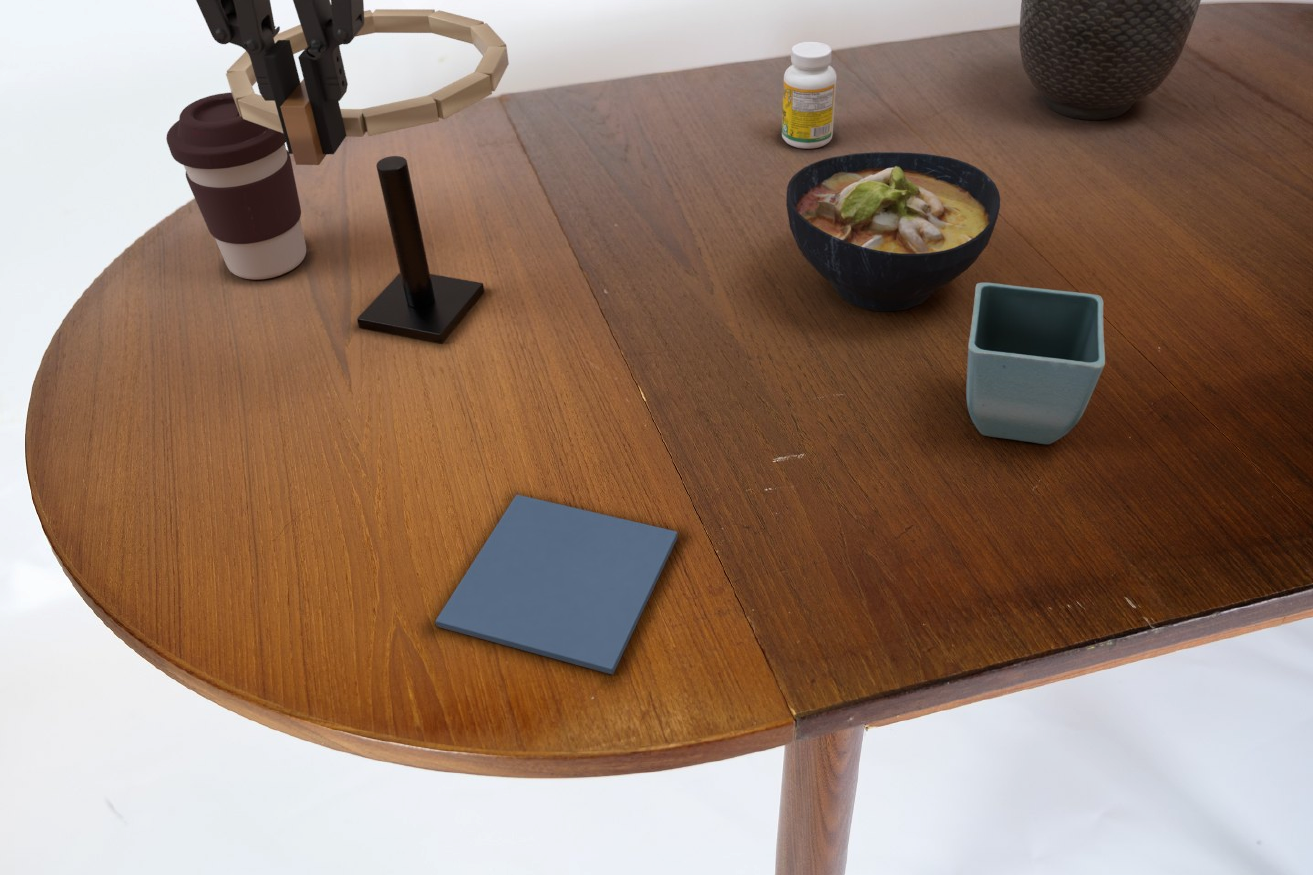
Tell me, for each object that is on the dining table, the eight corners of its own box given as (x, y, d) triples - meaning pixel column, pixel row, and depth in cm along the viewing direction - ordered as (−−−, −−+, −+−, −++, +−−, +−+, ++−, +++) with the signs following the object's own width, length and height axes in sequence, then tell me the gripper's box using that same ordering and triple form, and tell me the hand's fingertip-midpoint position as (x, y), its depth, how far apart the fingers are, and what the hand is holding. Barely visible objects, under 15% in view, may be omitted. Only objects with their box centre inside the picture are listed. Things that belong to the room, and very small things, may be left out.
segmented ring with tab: (456, 167, 72) (446, 108, 70) (163, 162, 74) (142, 105, 72) (528, 27, 90) (522, -25, 88) (290, 26, 92) (278, -24, 90)
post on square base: (442, 344, 94) (411, 194, 85) (358, 328, 96) (320, 180, 87) (484, 292, 100) (460, 146, 91) (405, 278, 102) (373, 134, 93)
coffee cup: (191, 268, 105) (135, 116, 95) (276, 222, 110) (232, 74, 101) (258, 302, 100) (207, 146, 90) (344, 252, 106) (304, 100, 96)
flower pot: (959, 376, 88) (976, 279, 82) (1077, 392, 86) (1103, 293, 80) (950, 449, 82) (967, 349, 76) (1077, 468, 80) (1105, 367, 74)
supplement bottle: (825, 153, 117) (831, 62, 110) (775, 146, 118) (778, 57, 112) (837, 130, 120) (844, 41, 114) (788, 124, 122) (792, 36, 116)
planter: (1162, 74, 127) (1201, -75, 117) (1178, 144, 115) (1224, -16, 104) (1004, 66, 131) (1028, -80, 120) (1003, 133, 118) (1030, -23, 108)
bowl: (1018, 324, 93) (1040, 218, 86) (817, 357, 91) (825, 250, 84) (937, 221, 106) (951, 121, 99) (759, 248, 103) (762, 147, 97)
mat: (613, 675, 68) (612, 669, 68) (436, 626, 71) (435, 620, 71) (678, 537, 76) (677, 531, 76) (517, 499, 80) (516, 493, 79)
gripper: (368, -286, 62) (439, 120, 77) (115, -279, 63) (234, 118, 78) (324, -260, 56) (410, 173, 71) (46, -252, 57) (189, 170, 73)
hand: (318, 144), depth 75 cm, fingers closed on segmented ring with tab, 2 cm apart
